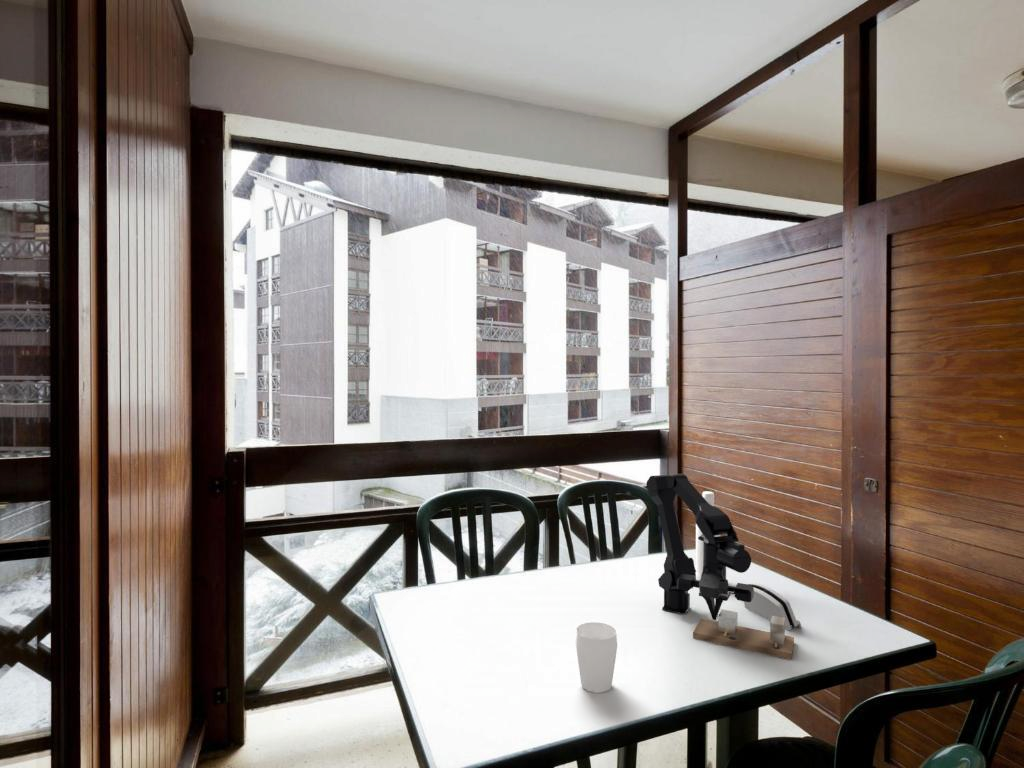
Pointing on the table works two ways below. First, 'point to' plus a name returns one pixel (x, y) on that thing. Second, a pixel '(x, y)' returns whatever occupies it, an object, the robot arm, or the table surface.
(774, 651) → the hole board
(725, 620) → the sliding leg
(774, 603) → the light grey curved piece
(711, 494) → the bottle
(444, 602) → the table surface
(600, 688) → the cup
